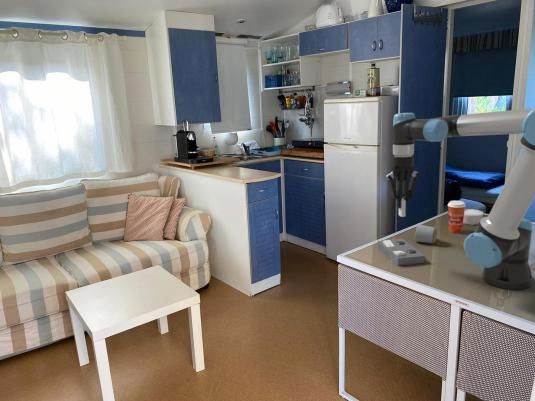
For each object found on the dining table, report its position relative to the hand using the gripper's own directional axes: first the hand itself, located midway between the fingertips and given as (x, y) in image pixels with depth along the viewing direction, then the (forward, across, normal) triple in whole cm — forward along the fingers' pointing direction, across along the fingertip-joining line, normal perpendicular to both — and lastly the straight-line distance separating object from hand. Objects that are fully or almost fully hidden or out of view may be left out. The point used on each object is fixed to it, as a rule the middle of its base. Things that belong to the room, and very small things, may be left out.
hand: (401, 215), depth 160 cm
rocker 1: (+16, 0, -12) cm, 20 cm away
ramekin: (+20, -53, -36) cm, 67 cm away
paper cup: (+20, -39, -26) cm, 51 cm away
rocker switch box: (+19, -3, -7) cm, 21 cm away
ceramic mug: (+20, -20, -18) cm, 34 cm away
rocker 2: (+16, 0, -2) cm, 17 cm away
